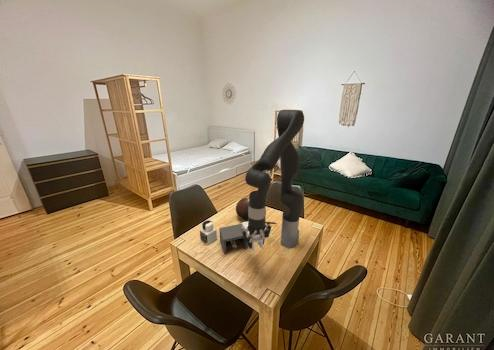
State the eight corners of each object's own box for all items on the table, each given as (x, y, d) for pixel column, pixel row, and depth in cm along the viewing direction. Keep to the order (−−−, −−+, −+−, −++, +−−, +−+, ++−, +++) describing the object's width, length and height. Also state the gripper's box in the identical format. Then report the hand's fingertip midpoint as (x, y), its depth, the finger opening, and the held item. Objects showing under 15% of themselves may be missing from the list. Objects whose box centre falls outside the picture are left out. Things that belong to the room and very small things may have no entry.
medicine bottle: (200, 239, 122) (198, 222, 117) (209, 234, 127) (208, 217, 122) (207, 245, 117) (206, 227, 113) (217, 239, 122) (216, 222, 118)
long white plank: (241, 230, 105) (241, 222, 104) (250, 228, 107) (250, 220, 105) (252, 251, 91) (252, 242, 90) (262, 248, 93) (263, 239, 91)
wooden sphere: (259, 222, 139) (260, 202, 134) (238, 225, 135) (238, 205, 130) (253, 211, 152) (253, 193, 147) (233, 213, 149) (233, 195, 143)
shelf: (248, 248, 115) (248, 234, 111) (224, 254, 110) (223, 239, 107) (242, 236, 124) (242, 223, 121) (220, 241, 120) (219, 228, 117)
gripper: (268, 207, 93) (266, 238, 99) (238, 212, 89) (238, 244, 95) (275, 216, 87) (273, 248, 93) (244, 222, 82) (243, 255, 88)
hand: (256, 246), depth 94 cm, fingers closed on long white plank, 5 cm apart
